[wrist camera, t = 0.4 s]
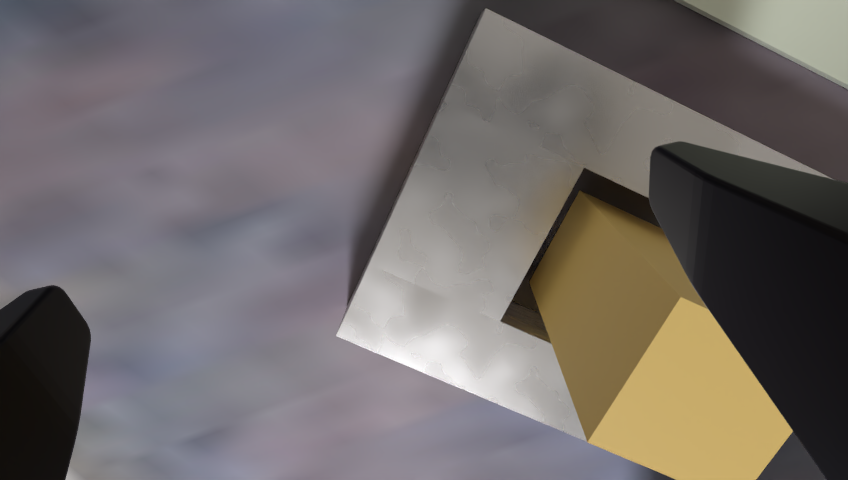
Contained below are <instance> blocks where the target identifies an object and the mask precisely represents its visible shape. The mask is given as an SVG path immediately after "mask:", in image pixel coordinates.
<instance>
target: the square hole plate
mask: <svg viewBox="0 0 848 480" xmlns="http://www.w3.org/2000/svg"><path fill="white" fill-rule="evenodd" d="M677 141H683V142H687V143H691V144H695V145H699V146H703V147H707V148H711V149H715V150H719V151H723V152H727V153H731V154H735V155H739V156H743V157H747V158H751V159H755V160H759V161H763V162H767V163H771V164H775V165H779V166H783V167H786V168H790V169H794V170H798V171H802V172H806V173H810V174H814V175H818V176H822V177H826V178H830V177H828V176H826V175H824V174H822V173H820V172H818V171H816V170H814V169H812V168H810V167H808V166H806V165H804V164H802V163H799V162H797V161H795V160H793V159H791V158H789V157H787V156H785V155H783V154H781V153H779V152H777V151H775V150H773V149H771V148H769V147H767V146H765V145H763V144H761V143H759V142H757V141H755V140H753V139H751V138H749V137H747V136H745V135H743V134H741V133H739V132H737V131H734V130H732V129H730V128H728V127H726V126H724V125H722V124H720V123H718V122H716V121H714V120H712V119H710V118H708V117H706V116H704V115H702V114H700V113H698V112H696V111H694V110H692V109H690V108H688V107H686V106H684V105H682V104H680V103H678V102H676V101H674V100H672V99H669V98H667V97H665V96H663V95H661V94H659V93H657V92H655V91H653V90H651V89H649V88H647V87H645V86H643V85H641V84H639V83H637V82H635V81H633V80H631V79H629V78H627V77H625V76H623V75H621V74H619V73H617V72H615V71H613V70H611V69H609V68H606V67H604V66H602V65H600V64H598V63H596V62H594V61H592V60H590V59H588V58H586V57H584V56H582V55H580V54H578V53H576V52H574V51H572V50H570V49H568V48H566V47H564V46H562V45H560V44H558V43H556V42H554V41H552V40H550V39H548V38H546V37H544V36H541V35H539V34H537V33H535V32H533V31H531V30H529V29H527V28H525V27H523V26H521V25H519V24H517V23H515V22H513V21H511V20H509V19H507V18H505V17H503V16H501V15H499V14H497V13H495V12H493V11H491V10H489V9H487V8H486V9H485V10H483V11H482V12H481V14H480V16H479V18H478V20H477V23H476V25H475V27H474V29H473V31H472V34H471V36H470V38H469V40H468V42H467V45H466V47H465V49H464V51H463V53H462V56H461V58H460V60H459V62H458V64H457V66H456V69H455V71H454V73H453V75H452V77H451V80H450V82H449V84H448V86H447V88H446V91H445V93H444V95H443V97H442V99H441V102H440V104H439V106H438V108H437V110H436V113H435V115H434V117H433V119H432V121H431V123H430V126H429V128H428V130H427V132H426V134H425V137H424V139H423V141H422V143H421V145H420V148H419V150H418V152H417V154H416V156H415V159H414V161H413V163H412V165H411V167H410V170H409V172H408V174H407V176H406V178H405V181H404V183H403V185H402V187H401V189H400V191H399V194H398V196H397V198H396V200H395V202H394V205H393V207H392V209H391V211H390V213H389V216H388V218H387V220H386V222H385V224H384V227H383V229H382V231H381V233H380V235H379V238H378V240H377V242H376V244H375V246H374V249H373V251H372V253H371V255H370V257H369V259H368V262H367V264H366V266H365V268H364V270H363V273H362V275H361V277H360V279H359V281H358V284H357V286H356V288H355V290H354V292H353V295H352V297H351V299H350V301H349V303H348V306H347V308H346V311H345V313H344V316H343V319H342V321H341V324H340V327H339V329H338V332H337V335H336V336H337V337H340V338H342V339H345V340H347V341H349V342H352V343H354V344H356V345H359V346H361V347H364V348H366V349H368V350H371V351H373V352H375V353H378V354H380V355H383V356H385V357H387V358H390V359H392V360H394V361H397V362H399V363H402V364H404V365H406V366H409V367H411V368H413V369H416V370H418V371H421V372H423V373H425V374H428V375H430V376H432V377H435V378H437V379H440V380H442V381H444V382H447V383H449V384H451V385H454V386H456V387H459V388H461V389H463V390H466V391H468V392H470V393H473V394H475V395H478V396H480V397H482V398H485V399H487V400H489V401H492V402H494V403H497V404H499V405H501V406H504V407H506V408H508V409H511V410H513V411H516V412H518V413H520V414H523V415H525V416H527V417H530V418H532V419H535V420H537V421H539V422H542V423H544V424H546V425H549V426H551V427H554V428H556V429H558V430H561V431H563V432H565V433H568V434H570V435H573V436H575V437H577V438H580V439H582V440H584V441H587V440H586V437H585V434H584V431H583V429H582V426H581V423H580V420H579V418H578V415H577V412H576V409H575V407H574V404H573V401H572V398H571V396H570V393H569V390H568V388H567V385H566V382H565V379H564V377H563V374H562V371H561V368H560V366H559V363H558V360H557V357H556V355H555V352H554V349H553V346H552V344H551V341H550V338H549V335H548V333H547V330H546V327H545V324H544V322H543V319H542V316H541V314H539V313H537V312H535V311H532V310H530V309H528V308H525V307H523V306H521V305H519V304H516V303H514V302H512V301H511V300H512V299H513V297H514V295H515V293H516V291H517V289H518V288H519V286H520V284H521V282H522V280H523V279H524V277H525V275H526V273H527V271H528V269H529V268H530V266H531V264H532V262H533V260H534V258H535V257H536V255H537V253H538V251H539V249H540V247H541V246H542V244H543V242H544V240H545V238H546V236H547V235H548V233H549V231H550V229H551V227H552V226H553V224H554V222H555V220H556V218H557V216H558V215H559V213H560V211H561V209H562V207H563V205H564V204H565V202H566V200H567V198H568V196H569V194H570V193H571V191H572V189H573V187H574V185H575V184H576V182H577V180H578V178H579V176H580V174H581V173H582V171H583V169H584V168H586V169H588V170H590V171H592V172H595V173H597V174H599V175H601V176H603V177H605V178H607V179H609V180H612V181H614V182H616V183H618V184H620V185H622V186H624V187H626V188H628V189H631V190H633V191H635V192H637V193H639V194H641V195H643V196H645V197H648V198H649V174H650V156H651V153H652V150H653V149H654V148H655V147H657V146H660V145H664V144H668V143H673V142H677ZM830 179H832V178H830Z"/></svg>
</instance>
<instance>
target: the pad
mask: <svg viewBox="0 0 848 480" xmlns="http://www.w3.org/2000/svg"><path fill="white" fill-rule="evenodd" d="M674 1H676V2H678V3H680V4H682V5H684V6H686V7H687V8H689V9H691V10H693V11H695V12H697V13H699V14H701V15H703V16H705V17H707V18H709V19H711V20H713V21H715V22H717V23H719V24H721V25H723V26H725V27H727V28H729V29H731V30H732V31H734V32H736V33H738V34H740V35H742V36H744V37H746V38H748V39H750V40H752V41H754V42H756V43H758V44H760V45H762V46H764V47H766V48H768V49H770V50H772V51H774V52H776V53H777V54H779V55H781V56H783V57H785V58H787V59H789V60H791V61H793V62H795V63H797V64H799V65H801V66H803V67H805V68H807V69H809V70H811V71H813V72H815V73H817V74H819V75H821V76H822V77H824V78H826V79H828V80H830V81H832V82H834V83H836V84H838V85H840V86H842V87H844V88H846V89H848V0H674Z"/></svg>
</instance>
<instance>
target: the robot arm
mask: <svg viewBox="0 0 848 480" xmlns="http://www.w3.org/2000/svg"><path fill="white" fill-rule="evenodd" d="M649 201H650V205H651V208H652V210H653V212H654V214H655V216H656V218H657V220H658V222H659V224H660V226H661V228H662V230H663V232H664V233H665V235H666V237H667V239H668V241H669V243H670V245H671V247H672V249H673V251H674V253H675V254H676V256H677V258H678V260H679V262H680V264H681V266H682V268H683V270H684V272H685V274H686V275H687V277H688V279H689V281H690V282H691V284H692V286H693V287H694V289H695V290H696V292H697V293H698V295H699V297H700V298H701V299H702V301H703V302H704V304H705V305H706V307H707V308H708V310H709V311H710V312H711V314H712V315H713V317H714V318H715V320H716V321H717V322H718V324H719V325H720V327H721V328H722V330H723V331H724V333H725V334H726V335H727V337H728V338H729V340H730V341H731V343H732V344H733V346H734V347H735V348H736V350H737V351H738V353H739V354H740V356H741V357H742V358H743V360H744V361H745V363H746V364H747V366H748V367H749V369H750V370H751V371H752V373H753V374H754V376H755V377H756V379H757V380H758V381H759V383H760V384H761V386H762V387H763V389H764V390H765V392H766V393H767V394H768V396H769V397H770V399H771V400H772V402H773V403H774V404H775V406H776V407H777V409H778V410H779V412H780V413H781V415H782V416H783V417H784V419H785V420H786V422H787V423H788V425H789V426H790V427H791V429H792V430H793V432H794V433H795V435H796V436H797V438H798V439H799V440H800V442H801V443H802V445H803V446H804V448H805V449H806V450H807V452H808V453H809V455H810V456H811V458H812V459H813V461H814V462H815V463H816V465H817V466H818V468H819V469H820V471H821V472H822V473H823V475H824V476H825V478H826V479H827V480H848V183H846V182H842V181H838V180H834V179H830V178H826V177H822V176H818V175H814V174H810V173H806V172H802V171H798V170H794V169H790V168H786V167H783V166H779V165H775V164H771V163H767V162H763V161H759V160H755V159H751V158H747V157H743V156H739V155H735V154H731V153H727V152H723V151H719V150H715V149H711V148H707V147H703V146H699V145H695V144H691V143H687V142H683V141H677V142H673V143H668V144H664V145H660V146H657V147H655V148H654V149H653V150H652V153H651V156H650V174H649ZM90 342H91V334H90V329H89V327H88V325H87V323H86V321H85V320H84V318H83V317H82V315H81V314H80V313H79V311H78V310H77V308H76V307H75V305H74V304H73V302H72V301H71V300H70V298H69V297H68V295H67V294H66V293H65V291H64V290H63V289H61V288H60V287H58V286H54V285H51V286H46V287H42V288H37V289H33V290H29V291H27V292H25V293H23V294H22V295H20V296H19V297H18V298H16V299H15V300H13V301H12V302H11V303H9V304H8V305H6V306H5V307H3V308H2V309H1V310H0V480H65V479H66V475H67V471H68V467H69V464H70V460H71V456H72V452H73V448H74V444H75V440H76V436H77V431H78V426H79V420H80V415H81V408H82V400H83V393H84V386H85V379H86V371H87V364H88V357H89V350H90Z"/></svg>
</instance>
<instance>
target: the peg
mask: <svg viewBox="0 0 848 480" xmlns="http://www.w3.org/2000/svg"><path fill="white" fill-rule="evenodd" d="M529 283H530V286H531V289H532V291H533V294H534V297H535V300H536V302H537V305H538V308H539V311H540V313H541V316H542V319H543V322H544V324H545V327H546V330H547V333H548V335H549V338H550V341H551V344H552V346H553V349H554V352H555V355H556V357H557V360H558V363H559V366H560V368H561V371H562V374H563V377H564V379H565V382H566V385H567V388H568V390H569V393H570V396H571V398H572V401H573V404H574V407H575V409H576V412H577V415H578V418H579V420H580V423H581V426H582V429H583V431H584V434H585V437H586V440H587V442H588V443H590V444H593V445H595V446H597V447H600V448H602V449H605V450H607V451H609V452H612V453H614V454H616V455H619V456H621V457H624V458H626V459H628V460H631V461H633V462H635V463H638V464H640V465H643V466H645V467H647V468H650V469H652V470H654V471H657V472H659V473H662V474H664V475H666V476H669V477H671V478H673V479H676V480H756V479H757V478H758V476H759V475H760V474H761V472H762V471H763V470H764V469H765V467H766V466H767V465H768V463H769V462H770V461H771V459H772V458H773V457H774V455H775V454H776V453H777V452H778V450H779V449H780V448H781V446H782V445H783V444H784V442H785V441H786V440H787V438H788V437H789V436H790V434H791V433H792V432H793V430H792V429H791V427H790V426H789V425H788V423H787V422H786V420H785V419H784V417H783V416H782V415H781V413H780V412H779V410H778V409H777V407H776V406H775V404H774V403H773V402H772V400H771V399H770V397H769V396H768V394H767V393H766V392H765V390H764V389H763V387H762V386H761V384H760V383H759V381H758V380H757V379H756V377H755V376H754V374H753V373H752V371H751V370H750V369H749V367H748V366H747V364H746V363H745V361H744V360H743V358H742V357H741V356H740V354H739V353H738V351H737V350H736V348H735V347H734V346H733V344H732V343H731V341H730V340H729V338H728V337H727V335H726V334H725V333H724V331H723V330H722V328H721V327H720V325H719V324H718V322H717V321H716V320H715V318H714V317H713V315H712V314H711V312H710V311H709V310H708V308H707V307H706V305H705V304H704V302H703V301H702V299H701V298H700V297H699V295H698V293H697V292H696V290H695V289H694V287H693V286H692V284H691V282H690V281H689V279H688V277H687V275H686V274H685V272H684V270H683V268H682V266H681V264H680V262H679V260H678V258H677V256H676V254H675V253H674V251H673V249H672V247H671V245H670V243H669V241H668V239H667V237H666V235H665V233H664V232H663V230H662V229H661V228H659V227H657V226H655V225H653V224H651V223H649V222H646V221H644V220H642V219H640V218H638V217H636V216H634V215H631V214H629V213H627V212H625V211H623V210H621V209H619V208H616V207H614V206H612V205H610V204H608V203H606V202H604V201H601V200H599V199H597V198H595V197H593V196H591V195H589V194H586V193H584V192H582V191H579V192H578V194H577V196H576V198H575V200H574V202H573V203H572V205H571V207H570V209H569V211H568V212H567V214H566V216H565V218H564V220H563V221H562V223H561V225H560V227H559V229H558V231H557V232H556V234H555V236H554V238H553V240H552V241H551V243H550V245H549V247H548V249H547V250H546V252H545V254H544V256H543V258H542V260H541V261H540V263H539V265H538V267H537V269H536V270H535V272H534V274H533V276H532V278H531V279H530V281H529Z"/></svg>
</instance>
